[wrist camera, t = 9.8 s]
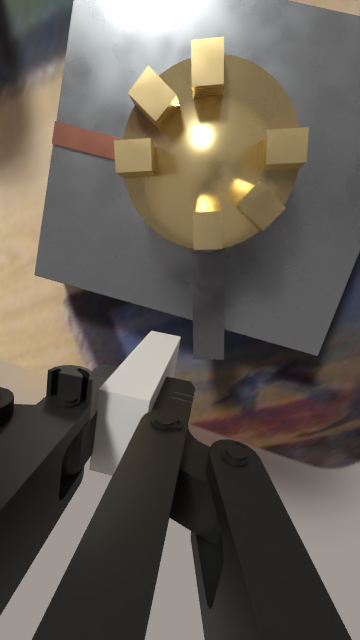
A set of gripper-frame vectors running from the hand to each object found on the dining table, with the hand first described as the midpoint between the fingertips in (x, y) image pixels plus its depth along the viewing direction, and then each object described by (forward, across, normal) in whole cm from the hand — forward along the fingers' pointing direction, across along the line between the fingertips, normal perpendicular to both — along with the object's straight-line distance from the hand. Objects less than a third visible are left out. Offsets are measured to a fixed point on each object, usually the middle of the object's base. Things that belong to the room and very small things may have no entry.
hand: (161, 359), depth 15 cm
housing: (+12, 0, +10) cm, 16 cm away
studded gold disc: (+8, +1, +7) cm, 10 cm away
